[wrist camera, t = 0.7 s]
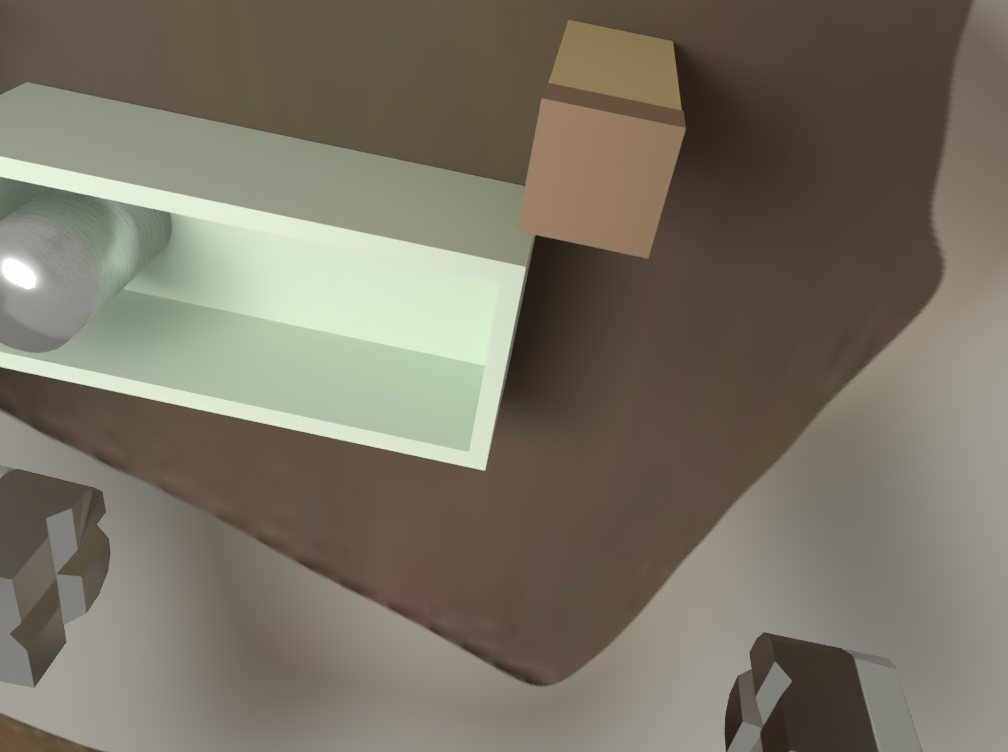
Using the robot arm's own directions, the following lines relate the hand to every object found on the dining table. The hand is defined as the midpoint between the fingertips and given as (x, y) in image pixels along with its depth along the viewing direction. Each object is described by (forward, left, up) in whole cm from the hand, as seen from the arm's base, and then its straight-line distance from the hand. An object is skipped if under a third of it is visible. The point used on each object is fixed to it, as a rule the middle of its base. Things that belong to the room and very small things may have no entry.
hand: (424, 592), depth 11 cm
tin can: (+15, -23, -35) cm, 45 cm away
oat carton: (+3, +2, -36) cm, 36 cm away
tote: (+15, -14, -36) cm, 42 cm away
